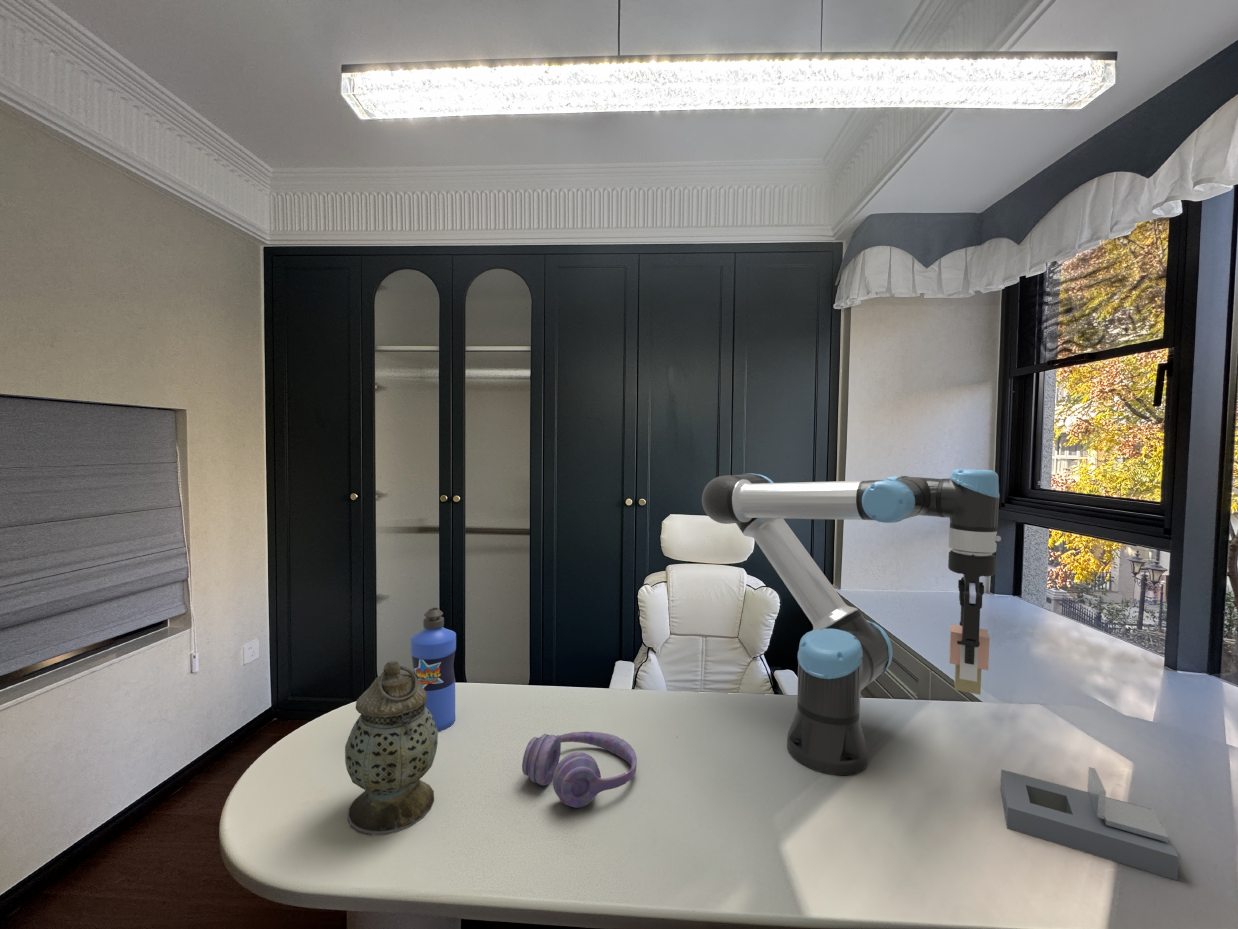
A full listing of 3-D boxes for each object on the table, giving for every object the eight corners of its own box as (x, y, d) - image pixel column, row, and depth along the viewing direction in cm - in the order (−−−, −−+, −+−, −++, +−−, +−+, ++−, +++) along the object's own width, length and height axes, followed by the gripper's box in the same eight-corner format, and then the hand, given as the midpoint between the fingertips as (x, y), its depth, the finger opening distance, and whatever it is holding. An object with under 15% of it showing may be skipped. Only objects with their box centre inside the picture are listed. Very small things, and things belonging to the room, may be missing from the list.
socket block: (1006, 828, 88) (1007, 807, 88) (1000, 788, 99) (1001, 769, 99) (1177, 880, 78) (1178, 856, 78) (1150, 829, 89) (1151, 808, 88)
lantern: (441, 777, 100) (441, 642, 99) (431, 831, 86) (431, 675, 85) (358, 786, 97) (357, 647, 96) (334, 844, 83) (333, 683, 82)
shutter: (1097, 822, 85) (1099, 789, 84) (1087, 797, 91) (1088, 767, 90) (1168, 842, 80) (1170, 808, 80) (1152, 815, 86) (1154, 783, 86)
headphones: (575, 827, 87) (653, 788, 101) (581, 773, 87) (658, 743, 102) (506, 777, 99) (585, 750, 114) (512, 731, 100) (590, 709, 114)
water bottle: (448, 734, 114) (448, 616, 113) (403, 733, 114) (403, 615, 113) (461, 711, 124) (461, 602, 122) (420, 711, 124) (420, 602, 123)
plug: (948, 689, 103) (950, 631, 102) (948, 679, 107) (950, 624, 106) (987, 697, 100) (989, 637, 99) (985, 686, 104) (987, 629, 103)
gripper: (1001, 563, 93) (995, 697, 93) (992, 546, 108) (987, 661, 109) (949, 557, 96) (944, 687, 97) (948, 542, 112) (944, 654, 113)
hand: (967, 673), depth 103 cm, fingers closed on plug, 5 cm apart
